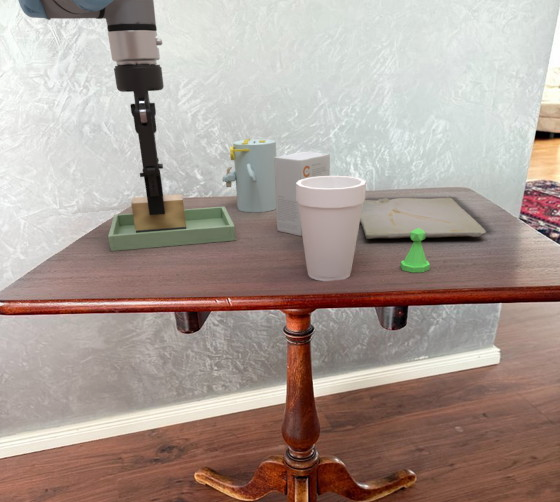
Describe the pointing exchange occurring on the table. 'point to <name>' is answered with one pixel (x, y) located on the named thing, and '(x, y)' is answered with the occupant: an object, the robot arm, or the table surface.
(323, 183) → the foam cup
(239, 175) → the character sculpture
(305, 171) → the small box
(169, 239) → the tray
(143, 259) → the table surface
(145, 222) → the eraser
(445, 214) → the decorative slab
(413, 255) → the game piece
